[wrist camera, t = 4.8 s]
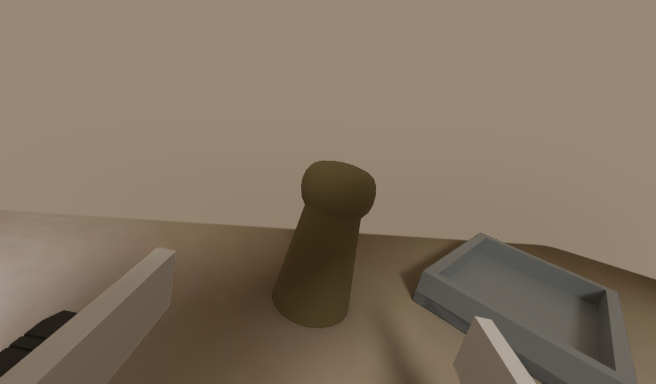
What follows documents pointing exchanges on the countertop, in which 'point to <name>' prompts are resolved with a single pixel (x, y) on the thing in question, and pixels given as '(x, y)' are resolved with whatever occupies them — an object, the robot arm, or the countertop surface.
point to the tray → (533, 311)
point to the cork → (324, 245)
